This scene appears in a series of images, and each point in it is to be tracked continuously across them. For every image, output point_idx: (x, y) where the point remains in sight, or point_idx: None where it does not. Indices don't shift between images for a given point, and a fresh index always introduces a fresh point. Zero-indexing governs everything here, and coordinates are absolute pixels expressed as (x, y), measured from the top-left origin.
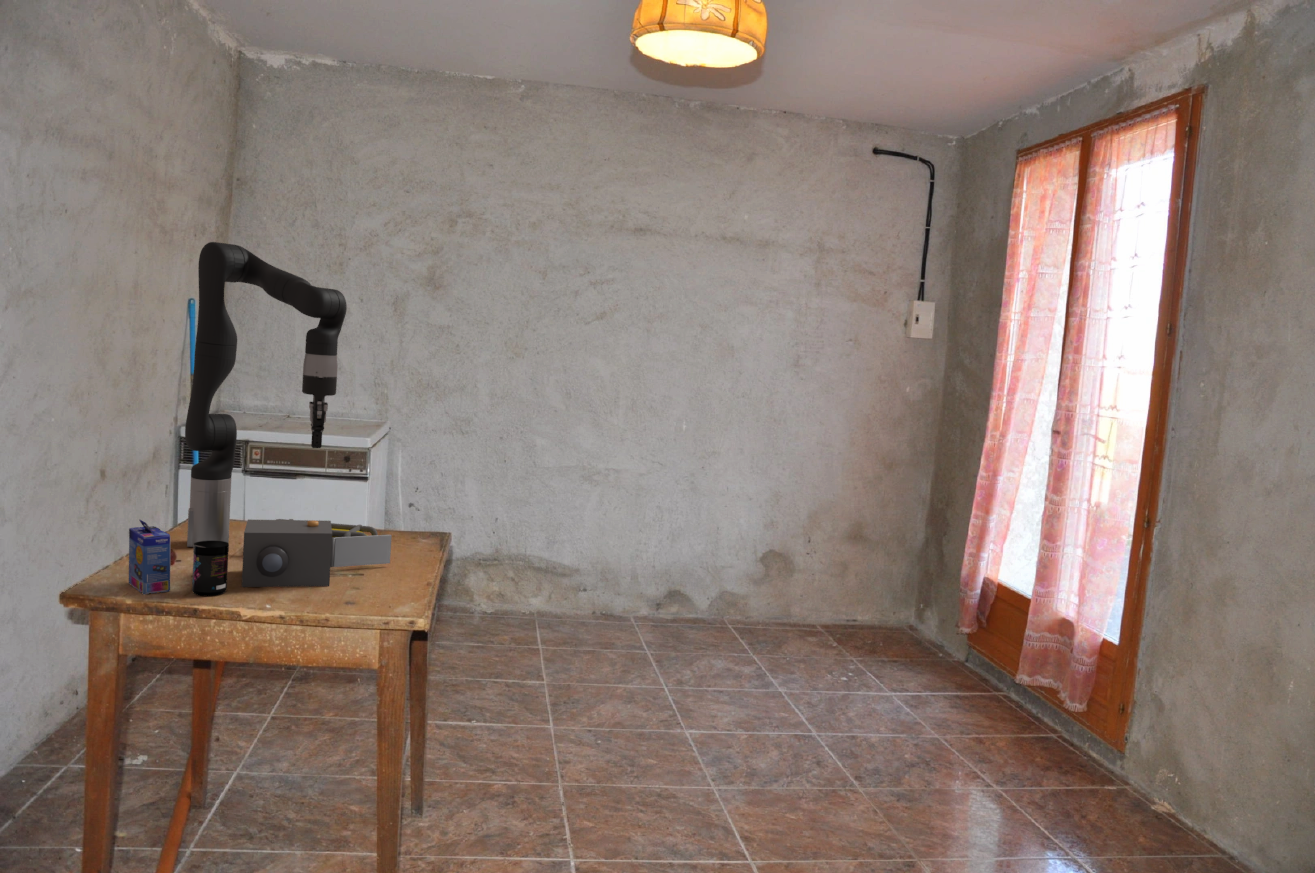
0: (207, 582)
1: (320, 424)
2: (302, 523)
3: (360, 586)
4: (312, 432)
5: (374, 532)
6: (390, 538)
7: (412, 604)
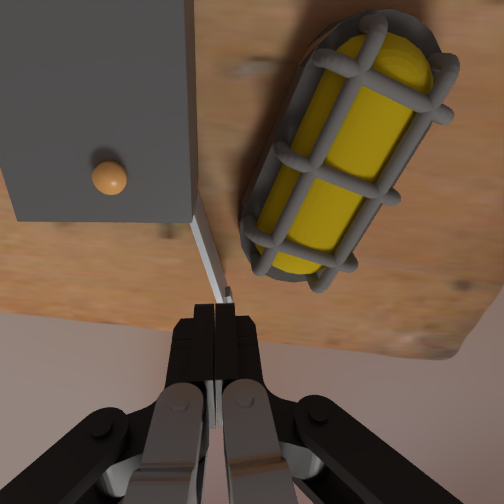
0: None
1: (294, 471)
2: (141, 147)
3: (78, 228)
4: (189, 381)
5: (312, 288)
6: None
7: None
